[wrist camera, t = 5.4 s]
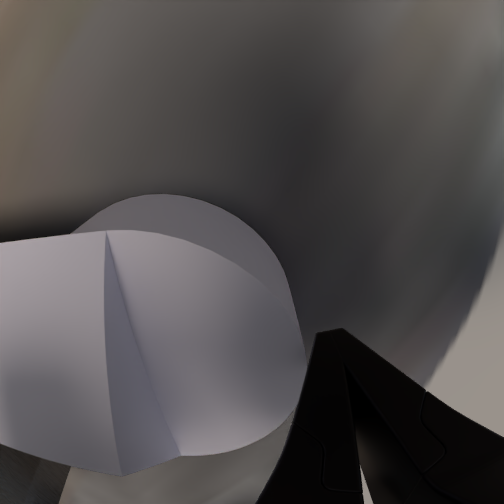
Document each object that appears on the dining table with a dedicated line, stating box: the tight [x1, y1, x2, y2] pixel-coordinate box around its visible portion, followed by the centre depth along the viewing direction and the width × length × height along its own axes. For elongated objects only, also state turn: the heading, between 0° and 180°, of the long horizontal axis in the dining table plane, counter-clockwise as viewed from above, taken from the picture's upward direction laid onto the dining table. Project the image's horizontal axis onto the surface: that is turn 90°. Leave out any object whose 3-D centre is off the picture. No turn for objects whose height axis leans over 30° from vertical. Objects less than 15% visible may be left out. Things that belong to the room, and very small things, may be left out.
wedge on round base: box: [0, 194, 307, 476], centre depth 8 cm, size 9×7×13 cm
